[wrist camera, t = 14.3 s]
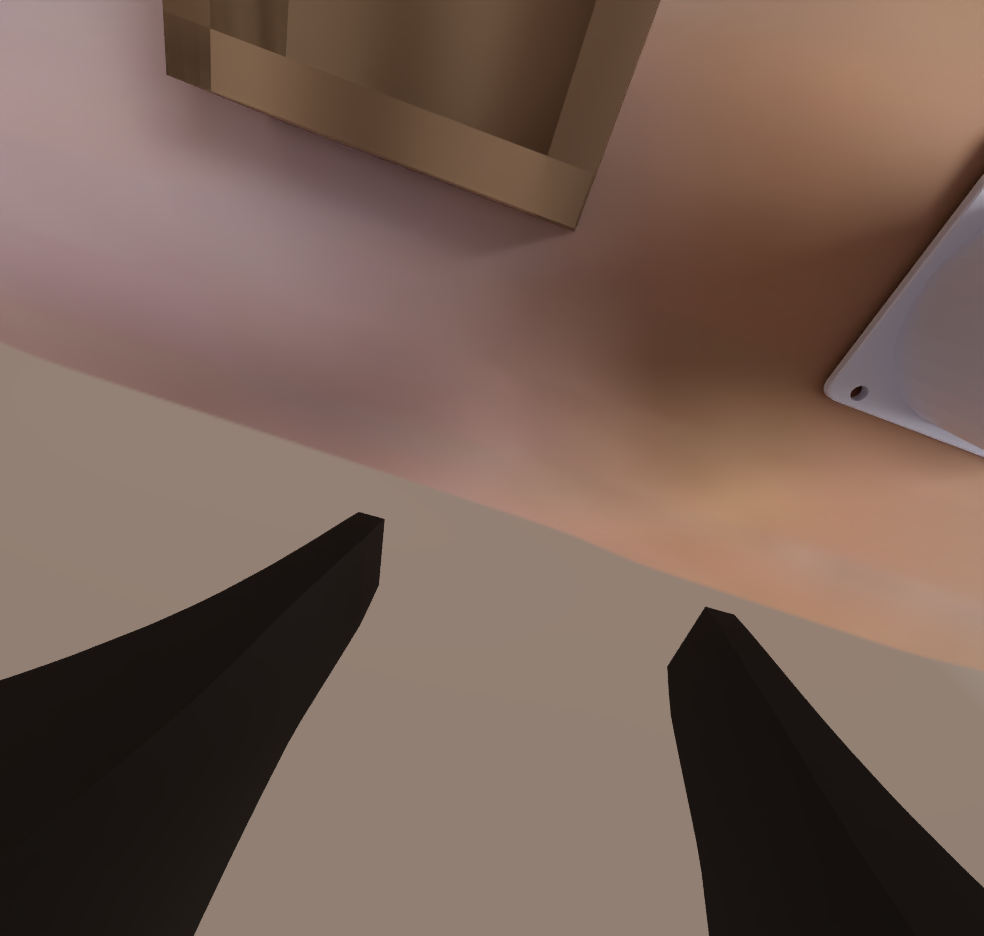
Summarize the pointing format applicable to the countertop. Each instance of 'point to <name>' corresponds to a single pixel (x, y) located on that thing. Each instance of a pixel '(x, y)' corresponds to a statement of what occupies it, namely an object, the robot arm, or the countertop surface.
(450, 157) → the brown tray
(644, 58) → the countertop surface
